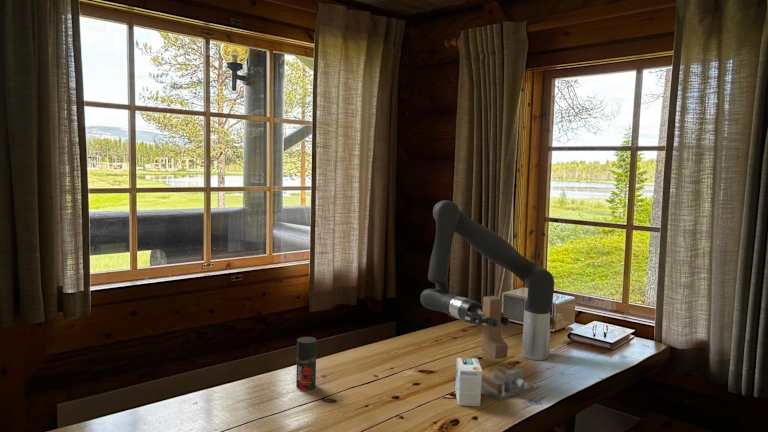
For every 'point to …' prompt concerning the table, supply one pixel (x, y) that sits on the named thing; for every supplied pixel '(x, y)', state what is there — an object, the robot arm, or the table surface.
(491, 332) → the wooden block
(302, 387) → the deodorant
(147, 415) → the table surface
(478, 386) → the light bulb box
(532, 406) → the table surface
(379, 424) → the table surface
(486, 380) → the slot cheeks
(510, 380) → the shaft bed
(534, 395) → the table surface
